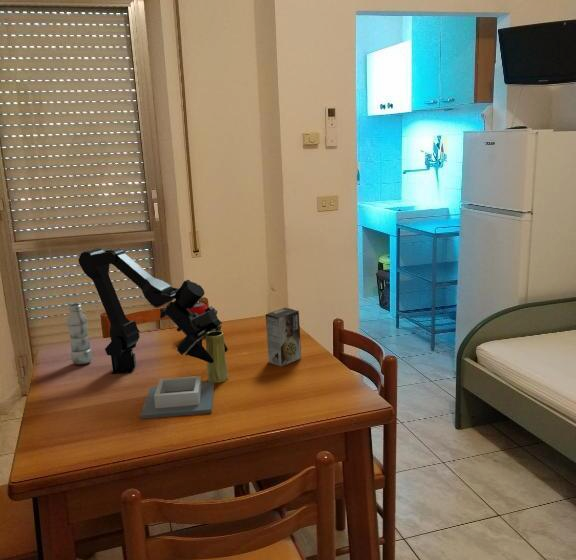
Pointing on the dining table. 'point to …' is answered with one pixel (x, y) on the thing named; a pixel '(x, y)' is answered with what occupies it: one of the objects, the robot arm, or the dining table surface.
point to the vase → (216, 357)
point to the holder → (179, 398)
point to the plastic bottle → (78, 335)
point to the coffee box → (283, 336)
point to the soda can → (198, 309)
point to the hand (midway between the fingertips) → (220, 356)
